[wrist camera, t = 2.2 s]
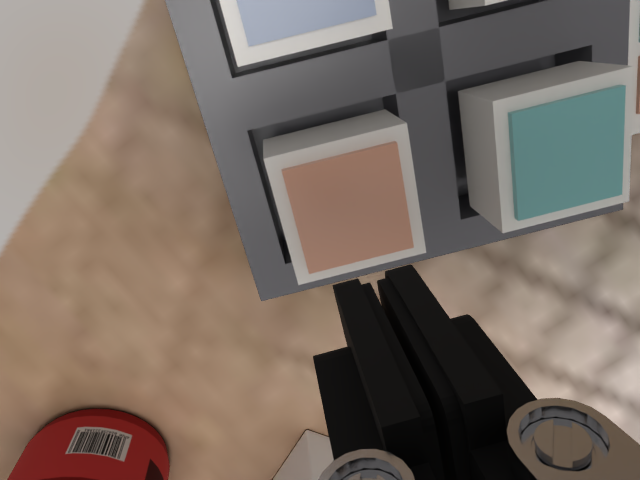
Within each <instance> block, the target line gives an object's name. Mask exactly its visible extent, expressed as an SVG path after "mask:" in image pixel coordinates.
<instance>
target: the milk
mask: <svg viewBox="0 0 640 480" xmlns="http://www.w3.org/2000/svg"><path fill="white" fill-rule="evenodd" d="M333 461H334V459H333V454H332V449H331V444H330V439H329V437H327V436H324V435H321V434H318V433H315V432H312V431H310V430H306V431H305V433H304V434H303V435H302V437H301V438H300V440H299V441H298V443H297V444H296V446H295V447H294V449H293V450H292V452H291V453H290V455H289V456H288V458H287V459H286V461H285V462H284V464H283V465H282V467H281V468H280V469H279V471H278V472H277V474H276V475H275V477H274V478H273V480H318V479H319V477H320V475H321V473H322V472H323V471H324V470H325V469H326V468H327V467H328V466H329V465H330V464H331V463H332V462H333Z"/></svg>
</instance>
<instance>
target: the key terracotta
mask: <svg viewBox="0 0 640 480" xmlns="http://www.w3.org/2000/svg"><path fill="white" fill-rule="evenodd" d="M263 159H264V163H265V167H266V170H267V174H268V177H269V181H270V185H271V188H272V192H273V195H274V199H275V203H276V206H277V210H278V213H279V217H280V221H281V224H282V228H283V231H284V235H285V239H286V242H287V246H288V249H289V253H290V256H291V260H292V264H293V267H294V271H295V274H296V278H297V282H298V285H301V284H305V283H309V282H313V281H317V280H321V279H325V278H329V277H333V276H336V275H340V274H344V273H348V272H352V271H356V270H360V269H364V268H368V267H372V266H376V265H380V264H384V263H388V262H392V261H396V260H400V259H403V258H407V257H411V256H415V255H419V254H423V253H426V247H425V240H424V234H423V227H422V220H421V214H420V207H419V200H418V194H417V187H416V180H415V174H414V167H413V160H412V153H411V147H410V140H409V133H408V127H407V123H406V122H405V121H403V120H401V119H400V118H398V117H397V116H395V115H393V114H392V113H390V112H389V111H387V110H386V109H384V110H380V111H376V112H372V113H368V114H364V115H360V116H356V117H352V118H348V119H344V120H340V121H336V122H332V123H328V124H324V125H320V126H316V127H312V128H308V129H304V130H300V131H296V132H292V133H288V134H284V135H280V136H276V137H272V138H268V139H264V140H263Z"/></svg>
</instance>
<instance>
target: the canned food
mask: <svg viewBox="0 0 640 480" xmlns="http://www.w3.org/2000/svg"><path fill="white" fill-rule="evenodd" d="M169 467H170V465H169V459H168V454H167V449H166V445H165V443H164V441H163V439H162V437H161V436H160V435H159V433H158V432H157V431H156V430H155V429H154V428H153V427H152V426H150V425H149V424H148V423H147V422H145V421H143V420H141V419H139V418H138V417H136V416H133V415H130V414H127V413H125V412H121V411H115V410H110V409H87V410H80V411H76V412H72V413H68V414H66V415H63V416H61V417H59V418H56V419H55V420H54V421H52V422H51V423H49V424H48V425H46V426H45V427H44V428H43V429H42V430H41V431H40V432H38V433H37V434H36V435H35V436H34V437H33V438H32V439H31V440H30V442H29V443H28V444H27V446H26V448H25V450H24V451H23V453H22V455H21V457H20V458H19V460H18V462H17V464H16V465H15V467H14V469H13V471H12V472H11V474H10V476H9V478H8V479H7V480H168V476H169Z"/></svg>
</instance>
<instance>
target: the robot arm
mask: <svg viewBox="0 0 640 480" xmlns="http://www.w3.org/2000/svg"><path fill="white" fill-rule="evenodd" d="M377 284H378V290H379V295H380V300H381V304H380V302H379V300H378V298H377V296H376V294H375V292H374V289H373V287H372V285H371V284H370V283H366V284H362V285H361V283H360V281H359V279H354V280H351V281H347V282H343V283H339V284H336V285H333V289H334V293H335V297H336V302H337V306H338V310H339V314H340V318H341V322H342V326H343V330H344V334H345V338H346V342H347V346H348V347H345V348H341V349H338V350H334V351H330V352H326V353H323V354H319V355H315V356H313V359H314V364H315V369H316V374H317V379H318V384H319V389H320V394H321V399H322V404H323V409H324V414H325V419H326V424H327V429H328V434H329V439H330V444H331V449H332V454H333V459H334V461H333V462H332V463H331V464H330V465H329V466H328V467H327V468H326V469H325V470H324V471H323V472H322V473H321V475H320V477H319V479H318V480H640V445H639V444H638V443H637V442H636V441H635V440H633V439H632V438H631V437H630V436H629V435H627V434H626V433H625V432H624V431H623V430H621V429H620V428H619V427H618V426H617V425H615V424H614V423H613V422H612V421H611V420H609V419H608V418H607V417H606V416H604V415H603V414H601V413H600V412H598V411H597V410H595V409H594V408H592V407H590V406H587V405H584V404H582V403H579V402H577V401H572V400H567V399H561V398H546V399H539V400H537V399H536V397H535V396H534V395H533V393H532V392H531V391H530V390H529V388H528V387H527V386H526V385H525V383H524V382H523V381H522V380H521V378H520V377H519V376H518V374H517V373H516V372H515V371H514V369H513V368H512V367H511V366H510V364H509V363H508V362H507V360H506V359H505V358H504V357H503V355H502V354H501V353H500V352H499V350H498V349H497V348H496V347H495V345H494V344H493V343H492V341H491V340H490V339H489V338H488V336H487V335H486V334H485V333H484V331H483V330H482V329H481V327H480V326H479V325H478V324H477V322H476V321H475V320H474V319H473V318H472V317H471V316H470V315H467V314H466V315H463V316H459V317H455V318H452V319H450V318H449V317H448V315H447V314H446V312H445V311H444V309H443V308H442V307H441V305H440V304H439V302H438V301H437V300H436V298H435V297H434V295H433V294H432V292H431V291H430V290H429V288H428V287H427V285H426V284H425V283H424V281H423V280H422V278H421V277H420V275H419V274H418V273H417V271H416V270H415V268H414V267H413V266H412V265H407V266H403V267H399V268H396V269H392V270H388V271H385V279H381V280H378V281H377ZM381 305H382V306H381Z"/></svg>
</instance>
